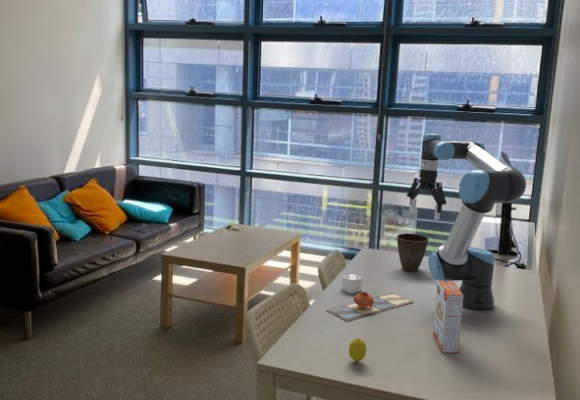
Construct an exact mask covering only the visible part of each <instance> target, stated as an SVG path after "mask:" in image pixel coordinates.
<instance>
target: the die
mask: <svg viewBox="0 0 580 400" xmlns="http://www.w3.org/2000/svg"><path fill="white" fill-rule="evenodd" d="M341 280H342V282H341V290H343V291H344V292H347V293H349V294H355V293H361V292H363V289H362V288H363V277H361V276H359V275H356V274H354V273H351V274H347V275H343V276H342V279H341Z"/></svg>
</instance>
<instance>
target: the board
mask: <svg viewBox="0 0 580 400" xmlns="http://www.w3.org/2000/svg"><path fill="white" fill-rule="evenodd" d="M372 298H373V299H374V303H373V305H372V308H371V309H370V306H369V307H362V308H361V310H359V306H358V305H357V304H356V303H355V302H353V303H350V304H346V305H342V306H341V305H340V306H337V307H334V308H331V309H326V310H325V312H328V313H329V314H332V315H333V316H335V317H337V318H339V319H341V320H344V321H345V322H352V321H355V320H358V319H361V318H365V317H368V316H371V315H375V314H378V313H382V312H385V311H390V310H393V309H396V308H400V307H404V306H407V305H410V304H413V303H414V301H412V300H410V299H408V298H405V297H402V296H401V295H398V294H396V293H392V292H390V293H386V294H384V295H380V296H376V297H372Z"/></svg>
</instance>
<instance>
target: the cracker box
mask: <svg viewBox="0 0 580 400" xmlns="http://www.w3.org/2000/svg"><path fill="white" fill-rule="evenodd" d="M436 285H437V287H436V297H435V306H434V317H433V318H434V320H433V330H432V336H433V337H434V340H435V342H436V343H437V346H438V347H439V350H440V352H441V353H449V354H458V353H459V345H460V335H461V327H462V318H463V317H462V316H463V308H464V307H463V299H464V295H463V294H462V293H461V291H460V290H459V289H460V288H459V287H458V286H457V284H456V283H455V281H437V284H436Z"/></svg>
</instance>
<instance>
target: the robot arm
mask: <svg viewBox="0 0 580 400" xmlns="http://www.w3.org/2000/svg"><path fill="white" fill-rule="evenodd" d="M441 137H442V136H441V134H438V133H429V132H428V133H424V134H423V135H422V141H421V154H420V155H421V157H420V169H419V177H414V178H413V182H412V185H411V186H410V188H409V190H408V192H407V194H406V197H408V198H409V205H410V212H409V213H410V214H416V211H417V210H416V209H417V202H418V201H417V200H418V199H417V197H418V195H420V194H421V192H422V191H423V190H424V191H428V192H430V193H431V196H432V197H433V199H434V201H435V202H436V203H435V206H434V216H433V217H434V218H433V220H434V221H438V220H440V216H441V213H442V210H443V206H444V205H447V200H446V197H445V193H444V189H443V182H441V181H437V178H438V169H439V160H442V161H448V160H465V161H467V162H468V163H469V164H471V165H472V166H474V168H476V169H475V170H470V171H467V172H466V173H464V174H463V176H462V177H461V180H460V182H459V185H458V187H459V188H458V194H459V198H460V201H461V203H462V205H461V207H460V209H459V211H458V214H457V216H456V219H455V221H454V223H453V226H452V228H451V230H450V232H449V235H448V236H447V239H446V242H445V243H442V244H441V245H440V246H439V247H438V250H437V251H431V252H430V253H429V255H428V262H427V263H428V269H429V270H428V271H429V273H430V276H431V277H432V279H433V280H434V281H437V282H438V281H454V282H455V281H456V282H457V281H458V282H459V281H461V285H460V287H459V288H458V289H459V290H460V291H461V293H462V294H463V295H464V299H463V308H466V309H469V310H475V311H488V310H489V311H490V310H492V309H493V308H494V306H495V299H494V294H493V290H492V285H493V276H494V268H495V264H496V263H495V260H496V259H495V258H496V257H495V254H494V253H492V252H491V251H490V250H487V249H485V248H481V247H475V246H471V244H472V242H473V240H474V238H475V236H476V234H477V231H478V229H479V227H480V226H481V223H482V221H483V219H484V217H485V215H486V214H488V213H491V212H492V210H493V209H494V206H495V204H510V203H513V202H516V201H518V200H519V199H520V198H522V196H524V193H525V192H526V188H527V181H526V178H525V175H524V174H523V173H522V172H521V171H520V170H518V169H517V168H515V167H514V166H507V165H506V164H505V163H504V162H502V161H501V160H500V159H498V158H496V157H495V156H493V155H492V154H490V153H489V152H487V151H486V147H485V145H484V143H483V142H481V141H476V140H475V141H474V140H471V141H470V140H469V141H467V140H465V141H464V140H461V141H460V140H458V141H457V140H442V138H441Z"/></svg>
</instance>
